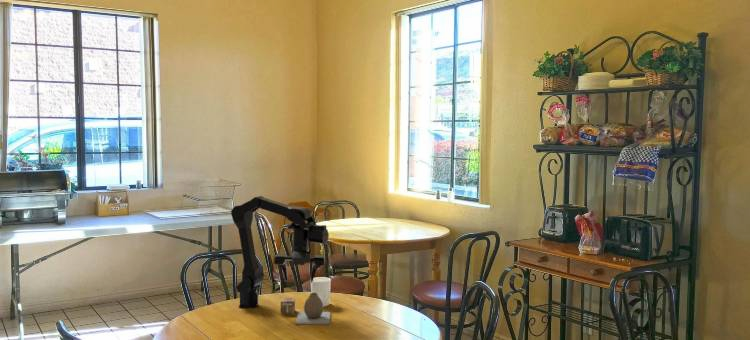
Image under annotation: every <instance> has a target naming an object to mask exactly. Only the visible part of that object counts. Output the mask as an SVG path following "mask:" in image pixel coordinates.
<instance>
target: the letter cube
mask: <svg viewBox="0 0 750 340" xmlns="http://www.w3.org/2000/svg"><path fill="white" fill-rule="evenodd" d="M295 312H296V297H281V300H280V315H295Z"/></svg>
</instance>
